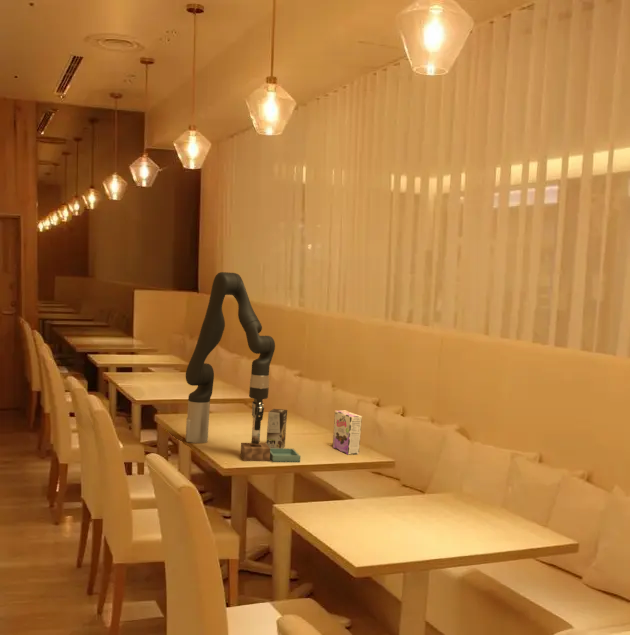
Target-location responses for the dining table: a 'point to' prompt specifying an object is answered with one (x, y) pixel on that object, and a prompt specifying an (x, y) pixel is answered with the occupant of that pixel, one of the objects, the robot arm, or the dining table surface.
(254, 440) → the steel pin
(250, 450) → the pin block
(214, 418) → the dining table surface
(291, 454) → the tray
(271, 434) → the coffee box
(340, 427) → the candy box
